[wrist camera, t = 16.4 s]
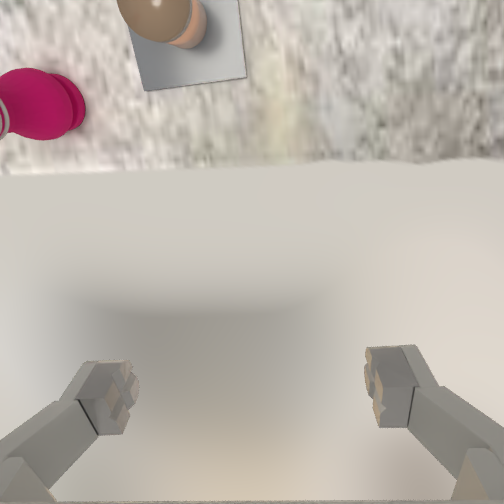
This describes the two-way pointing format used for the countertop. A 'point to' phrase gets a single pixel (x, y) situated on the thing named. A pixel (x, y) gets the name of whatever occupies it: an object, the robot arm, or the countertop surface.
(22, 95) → the pepper mill
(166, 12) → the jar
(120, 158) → the countertop surface
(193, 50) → the pad
